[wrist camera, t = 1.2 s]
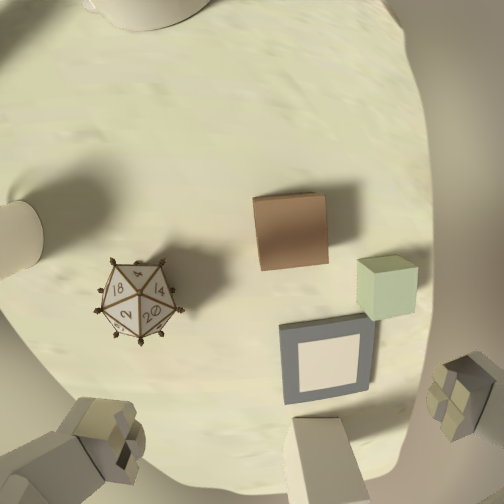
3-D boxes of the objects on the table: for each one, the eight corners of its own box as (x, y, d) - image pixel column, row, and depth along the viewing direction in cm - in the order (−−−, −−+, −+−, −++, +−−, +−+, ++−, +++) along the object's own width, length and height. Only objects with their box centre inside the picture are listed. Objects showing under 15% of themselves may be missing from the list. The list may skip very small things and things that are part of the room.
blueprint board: (278, 325, 34) (280, 330, 32) (371, 311, 34) (376, 316, 32) (283, 398, 36) (284, 405, 35) (365, 384, 36) (368, 390, 35)
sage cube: (356, 259, 32) (374, 273, 27) (396, 254, 32) (418, 267, 27) (356, 302, 33) (372, 321, 28) (394, 295, 33) (414, 312, 29)
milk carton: (291, 416, 37) (315, 536, 19) (340, 416, 38) (380, 525, 19) (281, 448, 39) (296, 556, 20) (326, 448, 39) (354, 548, 21)
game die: (159, 259, 35) (172, 229, 26) (185, 328, 34) (208, 322, 25) (88, 282, 31) (74, 258, 22) (113, 355, 30) (107, 359, 21)
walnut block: (252, 197, 30) (254, 201, 25) (312, 192, 30) (325, 195, 25) (258, 256, 32) (261, 271, 27) (316, 250, 32) (328, 263, 27)
